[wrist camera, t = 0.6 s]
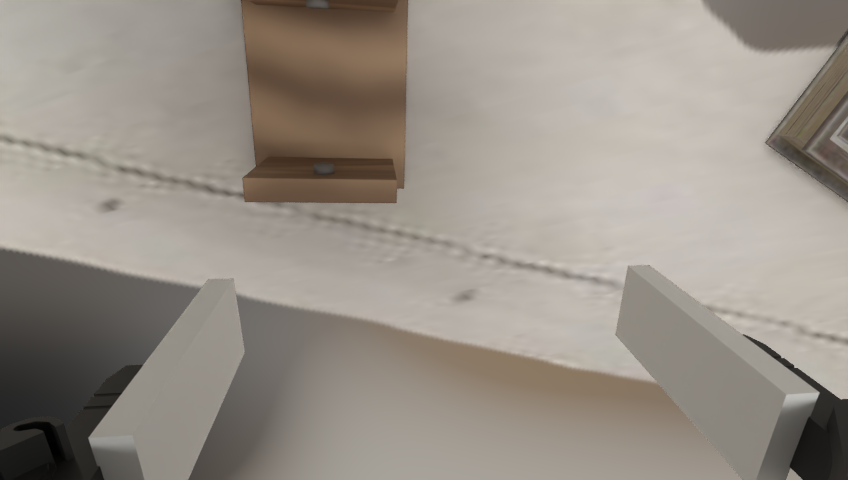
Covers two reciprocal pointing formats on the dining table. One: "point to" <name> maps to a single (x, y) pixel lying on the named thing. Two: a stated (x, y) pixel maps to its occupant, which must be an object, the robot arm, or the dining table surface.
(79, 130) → the dining table surface
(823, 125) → the book
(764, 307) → the dining table surface
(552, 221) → the dining table surface
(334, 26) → the holder
